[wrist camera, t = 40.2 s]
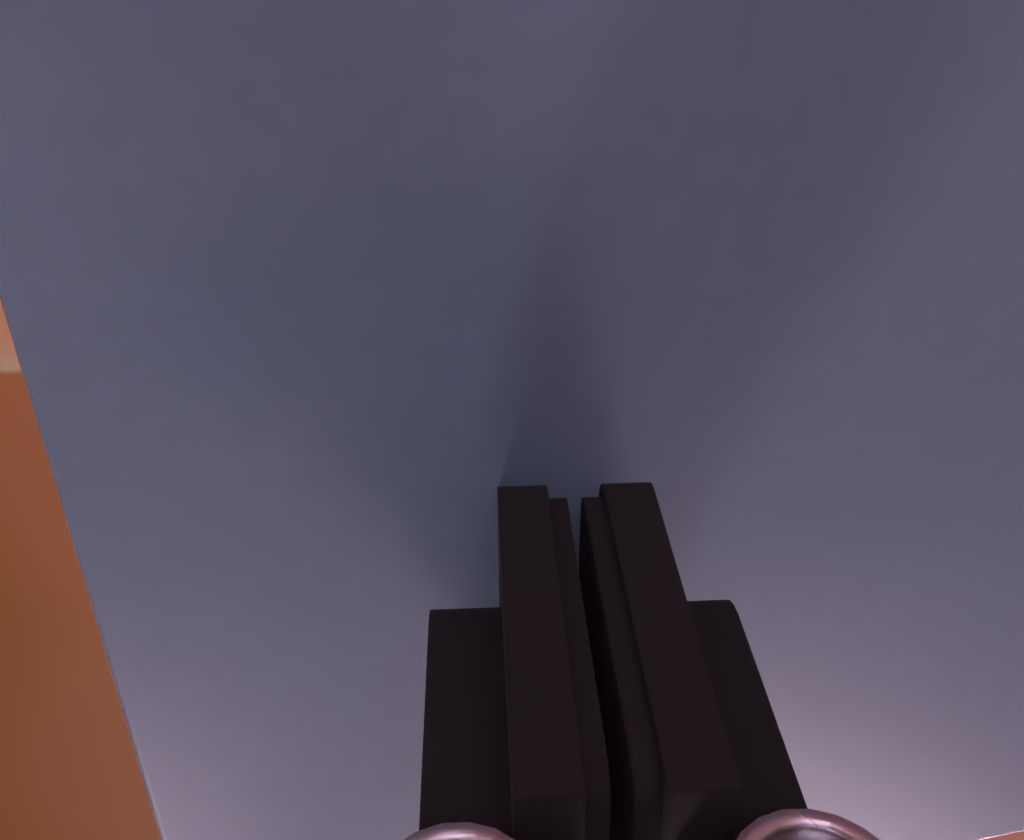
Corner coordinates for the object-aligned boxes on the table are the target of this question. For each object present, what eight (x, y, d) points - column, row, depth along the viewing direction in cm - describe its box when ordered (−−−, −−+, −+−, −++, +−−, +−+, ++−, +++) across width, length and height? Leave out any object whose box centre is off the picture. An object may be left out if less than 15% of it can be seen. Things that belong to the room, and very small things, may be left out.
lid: (211, 951, 14) (208, 1005, 14) (-90, -111, 7) (-125, -104, 7) (1127, 765, 17) (1162, 803, 16) (1542, -135, 10) (1634, -134, 9)
